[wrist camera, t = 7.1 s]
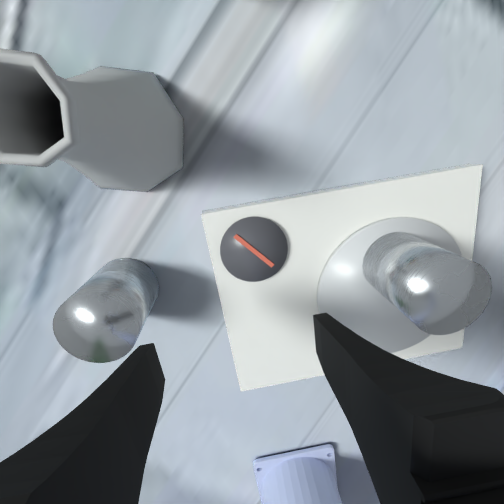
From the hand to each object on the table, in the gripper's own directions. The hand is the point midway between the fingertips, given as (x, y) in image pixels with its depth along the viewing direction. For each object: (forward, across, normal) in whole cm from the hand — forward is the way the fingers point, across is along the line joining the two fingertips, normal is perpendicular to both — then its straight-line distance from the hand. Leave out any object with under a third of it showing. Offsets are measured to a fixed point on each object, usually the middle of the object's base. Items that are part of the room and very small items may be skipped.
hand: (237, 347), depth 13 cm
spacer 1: (+9, +8, 0) cm, 12 cm away
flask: (+9, +5, -10) cm, 15 cm away
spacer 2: (+7, -11, +1) cm, 13 cm away
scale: (+9, -8, +3) cm, 12 cm away
